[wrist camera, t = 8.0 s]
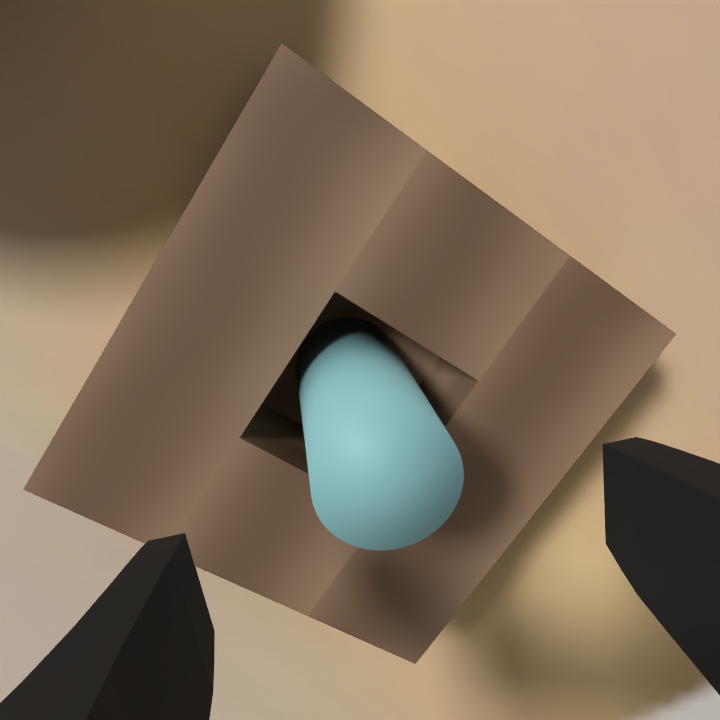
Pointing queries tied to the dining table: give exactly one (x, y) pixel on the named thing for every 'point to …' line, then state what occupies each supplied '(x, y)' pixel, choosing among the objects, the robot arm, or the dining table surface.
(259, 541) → the socket block
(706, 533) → the robot arm
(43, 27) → the dining table surface
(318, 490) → the peg
